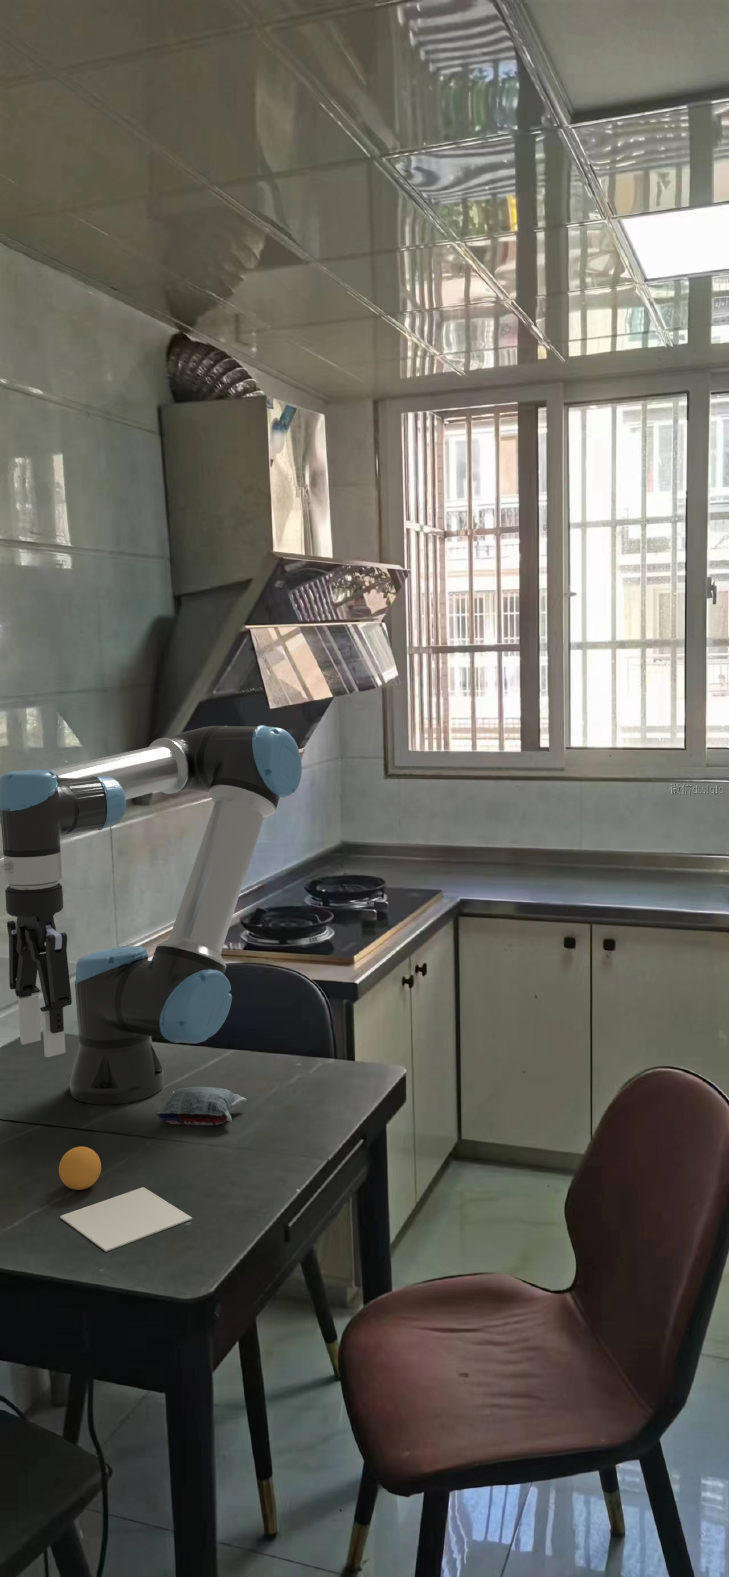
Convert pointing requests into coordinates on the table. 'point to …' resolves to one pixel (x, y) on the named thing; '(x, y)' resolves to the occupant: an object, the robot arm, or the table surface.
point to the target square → (125, 1218)
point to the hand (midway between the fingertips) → (42, 1047)
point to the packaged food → (200, 1106)
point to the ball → (79, 1168)
